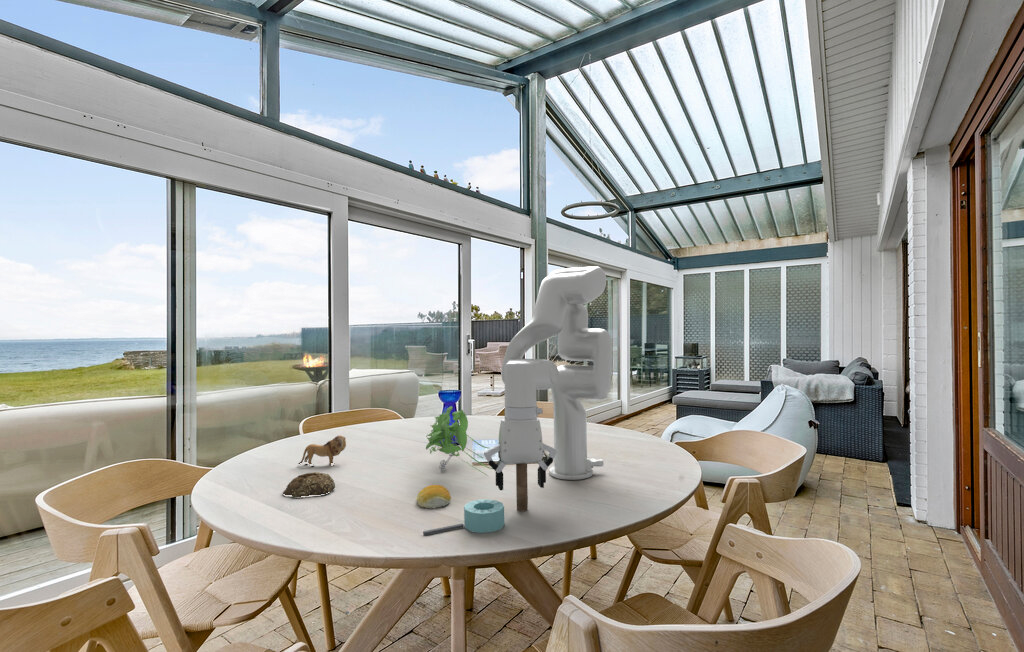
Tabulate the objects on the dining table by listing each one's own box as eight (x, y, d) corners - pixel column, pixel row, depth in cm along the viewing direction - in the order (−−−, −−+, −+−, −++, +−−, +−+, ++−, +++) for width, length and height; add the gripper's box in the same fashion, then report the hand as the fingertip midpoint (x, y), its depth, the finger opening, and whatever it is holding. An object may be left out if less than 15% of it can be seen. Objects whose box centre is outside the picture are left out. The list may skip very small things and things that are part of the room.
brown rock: (335, 482, 138) (335, 464, 138) (335, 495, 126) (334, 476, 126) (285, 487, 134) (285, 469, 134) (280, 502, 122) (280, 482, 122)
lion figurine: (347, 461, 160) (346, 433, 160) (345, 465, 154) (345, 437, 154) (298, 464, 156) (298, 436, 156) (295, 469, 151) (295, 440, 151)
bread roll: (448, 495, 125) (448, 479, 125) (452, 507, 117) (452, 490, 117) (415, 498, 124) (415, 482, 124) (417, 510, 115) (416, 493, 115)
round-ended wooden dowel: (526, 506, 116) (525, 456, 116) (528, 510, 113) (528, 458, 113) (515, 507, 115) (514, 456, 115) (518, 511, 113) (517, 459, 113)
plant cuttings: (471, 474, 166) (418, 436, 165) (501, 433, 167) (448, 395, 166) (470, 512, 131) (403, 464, 130) (508, 460, 132) (441, 412, 131)
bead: (500, 515, 110) (499, 498, 110) (507, 530, 102) (506, 511, 102) (462, 519, 109) (462, 501, 109) (467, 534, 100) (466, 514, 100)
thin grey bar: (462, 526, 105) (462, 523, 105) (463, 527, 104) (463, 524, 104) (423, 534, 101) (423, 531, 101) (424, 535, 100) (424, 532, 100)
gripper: (551, 410, 120) (551, 480, 119) (481, 412, 116) (481, 485, 116) (560, 414, 112) (561, 489, 112) (486, 417, 109) (486, 494, 108)
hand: (520, 487), depth 114 cm, fingers open, 9 cm apart
